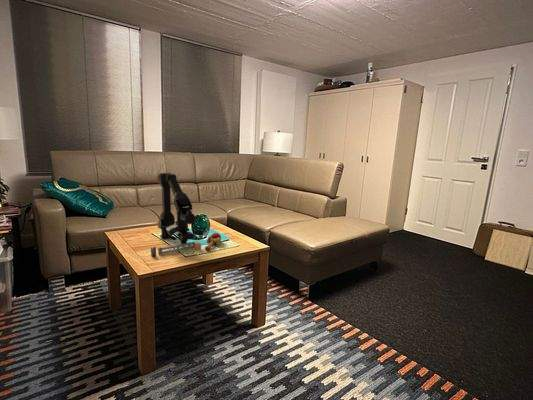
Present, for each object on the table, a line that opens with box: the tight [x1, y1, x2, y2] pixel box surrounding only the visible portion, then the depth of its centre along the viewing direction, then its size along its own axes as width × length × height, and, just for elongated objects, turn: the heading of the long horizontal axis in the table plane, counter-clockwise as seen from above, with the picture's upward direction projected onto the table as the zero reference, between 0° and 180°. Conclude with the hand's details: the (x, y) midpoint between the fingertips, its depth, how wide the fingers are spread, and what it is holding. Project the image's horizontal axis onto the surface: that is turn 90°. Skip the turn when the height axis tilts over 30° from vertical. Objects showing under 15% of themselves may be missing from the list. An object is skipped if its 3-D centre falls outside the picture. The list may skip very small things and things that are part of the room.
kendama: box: [204, 232, 222, 253], centre depth 165 cm, size 8×6×18 cm
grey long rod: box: [157, 241, 195, 256], centre depth 155 cm, size 2×20×3 cm, turn 124°
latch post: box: [193, 241, 202, 252], centre depth 159 cm, size 3×3×4 cm
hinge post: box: [150, 246, 157, 258], centre depth 148 cm, size 2×2×4 cm
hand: (183, 246), depth 159 cm, fingers closed
